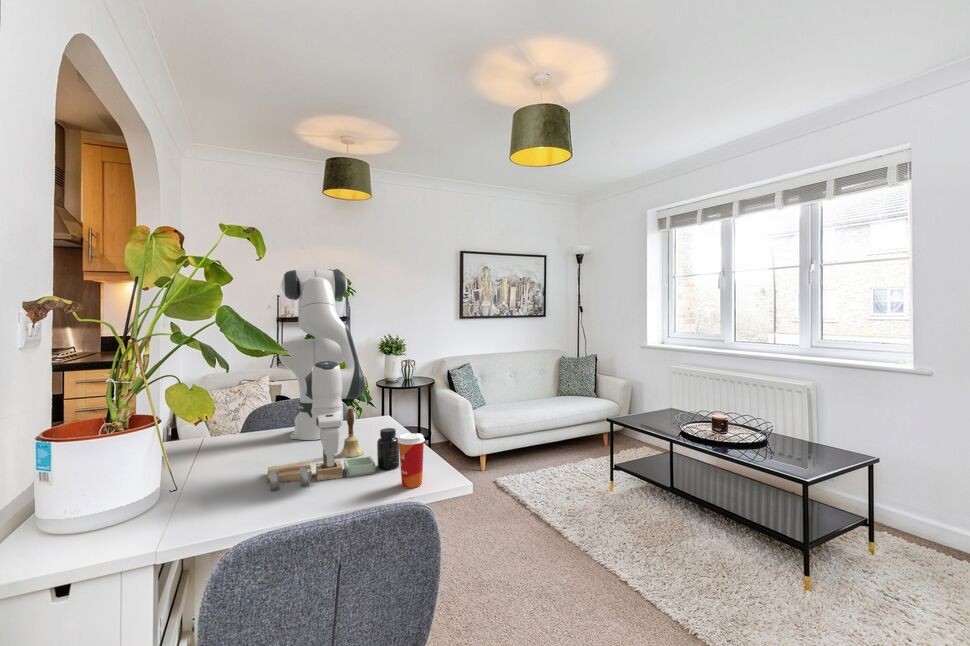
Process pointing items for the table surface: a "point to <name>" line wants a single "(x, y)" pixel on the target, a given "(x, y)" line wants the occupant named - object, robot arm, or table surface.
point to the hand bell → (351, 439)
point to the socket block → (329, 471)
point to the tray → (359, 466)
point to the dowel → (326, 461)
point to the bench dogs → (275, 478)
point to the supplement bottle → (388, 449)
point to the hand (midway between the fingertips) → (328, 461)
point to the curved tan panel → (289, 472)
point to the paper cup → (411, 459)
